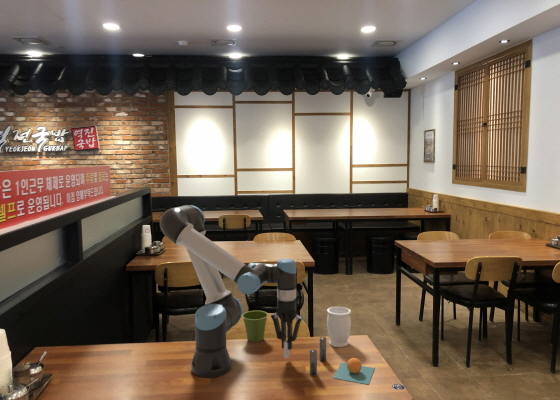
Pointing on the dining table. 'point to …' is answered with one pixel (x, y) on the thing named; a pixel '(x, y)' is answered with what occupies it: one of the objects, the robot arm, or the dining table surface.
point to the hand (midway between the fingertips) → (286, 356)
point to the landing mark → (360, 377)
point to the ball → (354, 365)
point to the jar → (338, 326)
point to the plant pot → (255, 324)
